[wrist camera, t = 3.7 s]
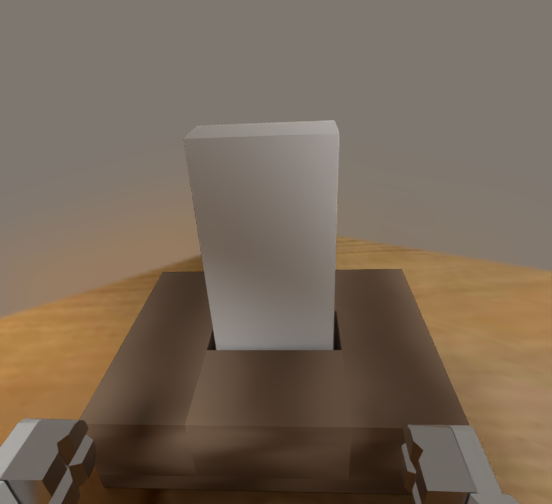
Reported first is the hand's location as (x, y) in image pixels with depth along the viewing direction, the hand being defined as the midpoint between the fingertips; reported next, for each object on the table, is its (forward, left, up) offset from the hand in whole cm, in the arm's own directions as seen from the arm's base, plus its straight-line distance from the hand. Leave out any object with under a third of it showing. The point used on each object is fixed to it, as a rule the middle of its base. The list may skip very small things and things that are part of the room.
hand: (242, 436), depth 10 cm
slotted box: (0, +10, -9) cm, 14 cm away
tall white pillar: (0, +10, -8) cm, 13 cm away
